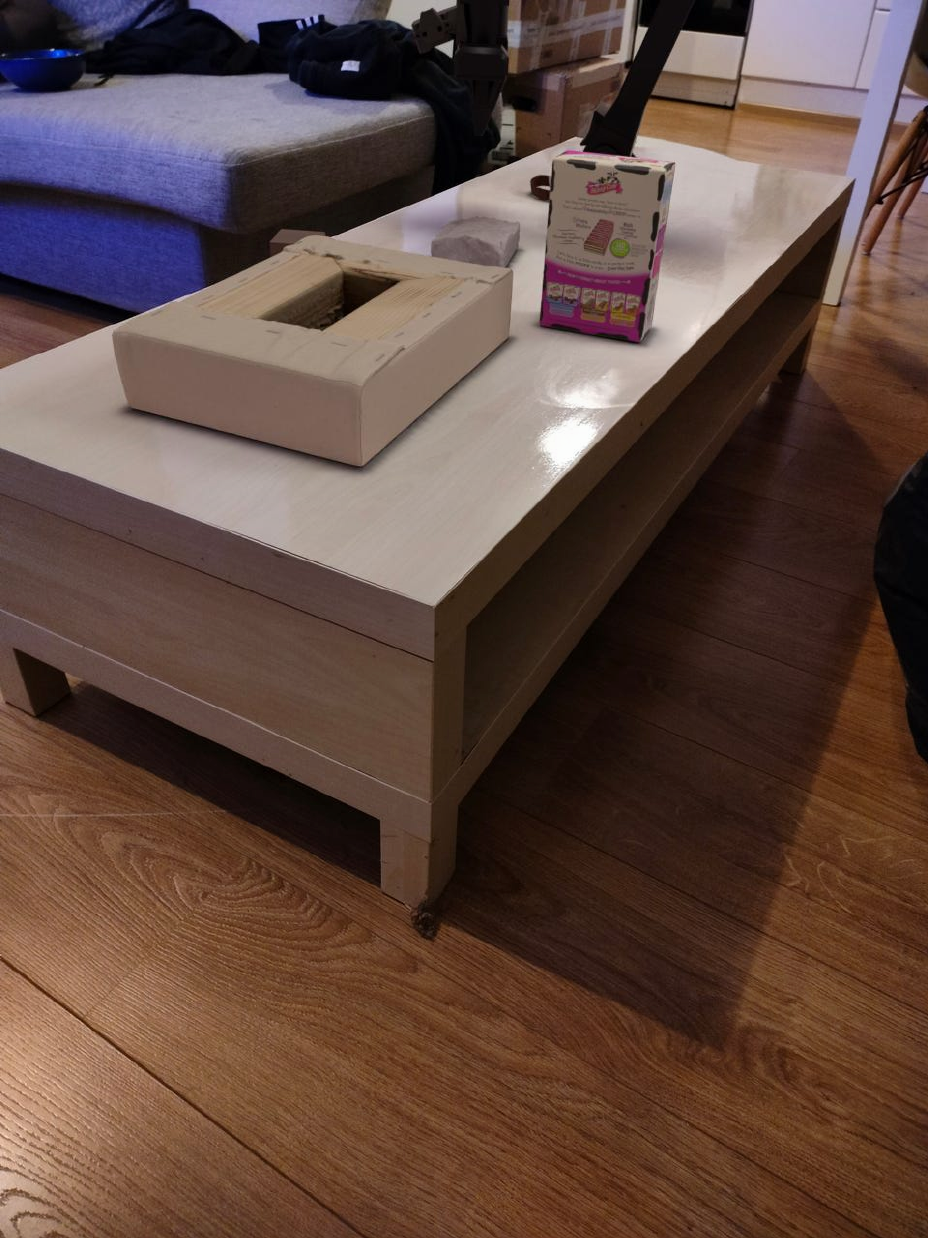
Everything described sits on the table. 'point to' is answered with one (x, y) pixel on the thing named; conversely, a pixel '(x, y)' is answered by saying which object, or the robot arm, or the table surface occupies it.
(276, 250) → the walnut cube
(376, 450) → the box
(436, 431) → the table surface
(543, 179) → the watch
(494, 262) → the stone block
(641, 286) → the candy bar box
